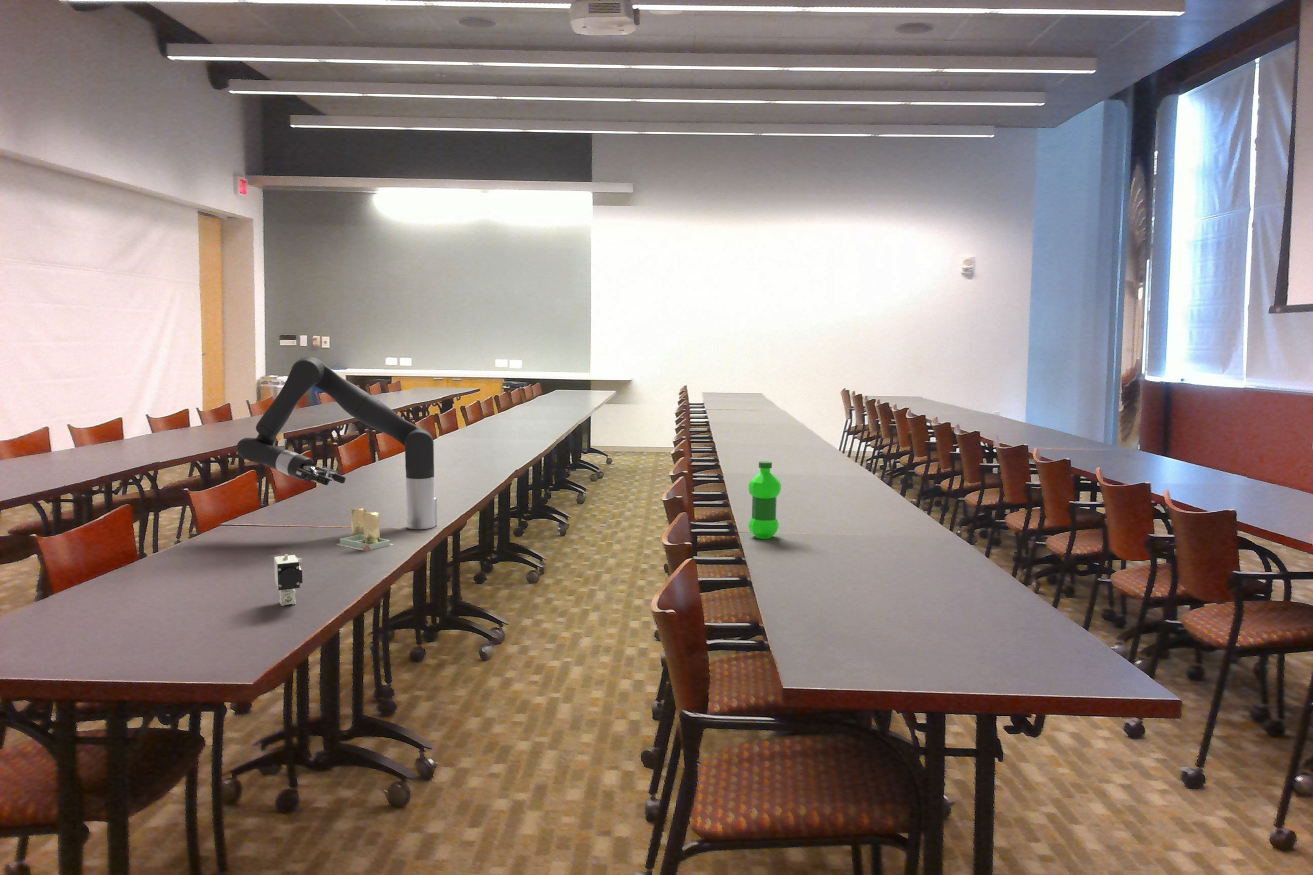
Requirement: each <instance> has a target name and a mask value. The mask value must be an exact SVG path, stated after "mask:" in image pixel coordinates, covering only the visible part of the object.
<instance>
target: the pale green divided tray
mask: <svg viewBox="0 0 1313 875" xmlns="http://www.w3.org/2000/svg"><path fill="white" fill-rule="evenodd" d="M336 545H337V546H341V547H347V548H351V549H355V550H360V551H363V552H364V551H365V552H368V551H372V550H377V549H380V548H386V547H389V546H393V545H394V543H391V540H390V539H385V538H381V537H380V542H378V543H374V544H366V543H364V535H361V534H359V535H355V536H352V535H351V536H345V537H341V538H339V543H337V544H336Z"/></svg>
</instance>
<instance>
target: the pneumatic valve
mask: <svg viewBox="0 0 1313 875" xmlns="http://www.w3.org/2000/svg"><path fill="white" fill-rule="evenodd" d="M300 563H302V558H301V557H297V556H296V555H295V553H293V554H282V555H275V556H273V571H274V574H273V576H274V583H275V585H276V588H277V590H278V592H279V601H278V602H279V604H280V606H281V607H284V606H288V605H293V606H294V604H295V605H296V604H297V601H296V594H297V592H296V589H300V588H301V586H300V585H301V584H303V569H302V568H301V566H300Z"/></svg>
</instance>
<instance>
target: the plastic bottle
mask: <svg viewBox="0 0 1313 875" xmlns="http://www.w3.org/2000/svg"><path fill="white" fill-rule="evenodd" d="M772 467H773V462H772V461H768V460H767V461H764V460H763V461H759V462H758V468H759V469H760V471H759V473H757V474H756V475H755V476H754V477H753V478H752V479H751V480H750V481H749V484H748V491H749V494H750V495H751V497H752V499H751V500H752V501H751V505H752V506H751V518H750V521H749V523H748V529H749V531H750V533H751V534H752V535H753V536H754V537H755V538H757V539H761V540H762V539H763V540H768V539H771V538H772V537H774V536H775V534H776V533H777V532H778V530H779V528H780V527H779V526H780V525H779V521H778V519H777V499H778V496H779V495H780V493H781V488H782V487H781V486H782V485H781V482H780V480H779V479H778V478H777V477H776V476H775V475H774V474H772V473H771V469H772Z"/></svg>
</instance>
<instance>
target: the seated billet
mask: <svg viewBox="0 0 1313 875" xmlns="http://www.w3.org/2000/svg"><path fill="white" fill-rule="evenodd" d="M363 521H364V543H366V544H374V543H378V542H380V538H381V537H380V534H381V533H380V531H381V530H380V512H379V511H366V513H363Z"/></svg>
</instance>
